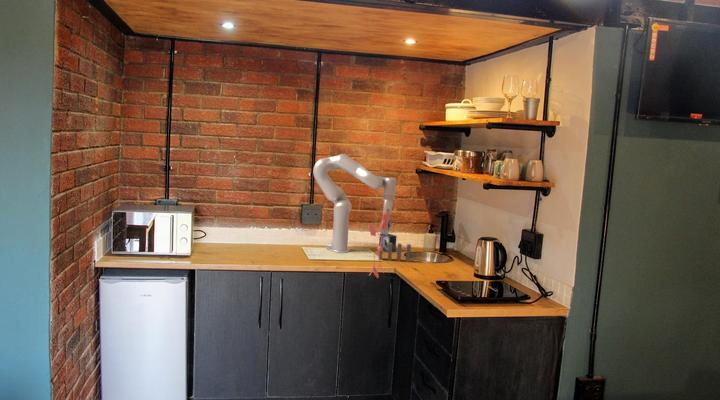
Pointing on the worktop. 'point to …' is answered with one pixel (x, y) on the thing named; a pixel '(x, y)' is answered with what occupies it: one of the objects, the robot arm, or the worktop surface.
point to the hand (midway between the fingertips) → (386, 226)
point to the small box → (388, 241)
